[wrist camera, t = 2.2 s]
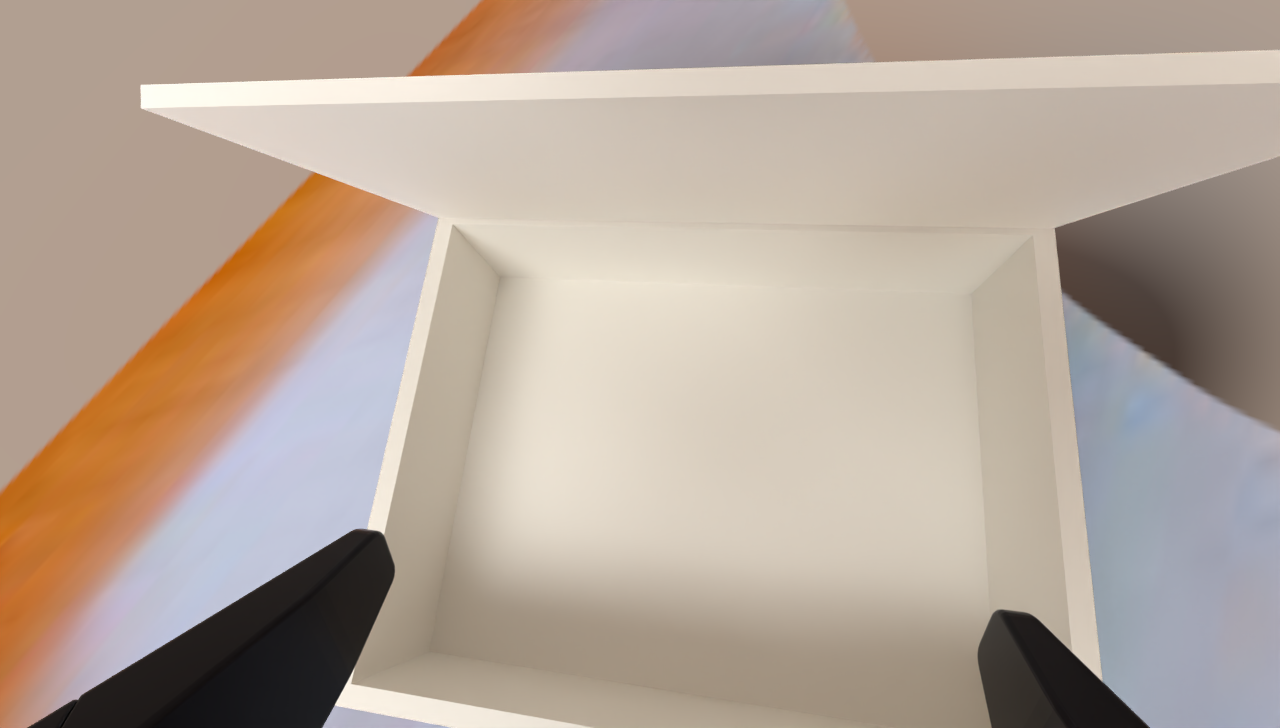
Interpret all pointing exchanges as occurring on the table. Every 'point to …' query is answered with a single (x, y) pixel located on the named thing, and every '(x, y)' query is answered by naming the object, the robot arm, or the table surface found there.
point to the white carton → (724, 476)
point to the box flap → (769, 137)
